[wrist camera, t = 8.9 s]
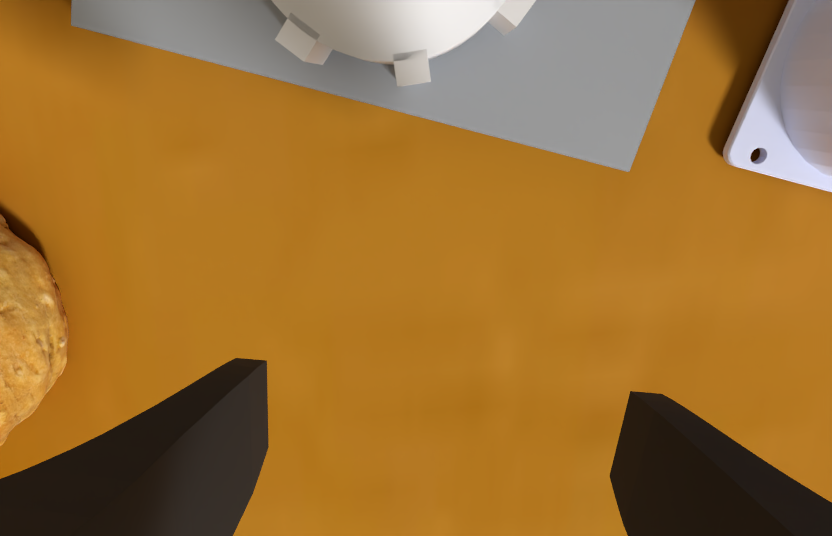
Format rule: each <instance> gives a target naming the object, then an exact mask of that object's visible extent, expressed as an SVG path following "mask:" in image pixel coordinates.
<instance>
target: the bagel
mask: <svg viewBox="0 0 832 536" xmlns="http://www.w3.org/2000/svg"><path fill="white" fill-rule="evenodd" d="M68 337H69V330H68V321H67V317H66V314H65V312H64V309H63V306H62V302H61V296H60V292H59V290H58V287H57V286H56V285H55V280H54V279H53V277H52V276H51V274H50V272H49V267H48V265H47V263H46V261H45V260H44V258H43V257H42V256H41V254H40V253H39V252H38V251H37V250H36V249H35V248H33V247H32V246H31V245H29V244H27V243H26V242H24V241H23V240H22V239H20V238H18V237H17V236H16V235H15V234H14V233H12V232H11V231H10V229H9V228H8V224H6V220H5V218H4V217H3V216H2V215H1V214H0V446H1V445H2V444H3V443H4V442H5V440H6V438H7V436H8V434H9V433H10V431H11V430H12V429H13V428H14V426H16V425H17V424H18V423H20V422H21V421H23V420H25V419H26V418H27V417H29V416H30V415H31V414H32V413H33V412H34V411H35V410H36V408H37V407H38V405H39V404H40V402H41V400H42V399H43V397H44V396H45V394H46V393H47V392H48V391H49V390H50V388H51V387H52V386H53V384H54V383H55V381H56V380H57V378H58V377H59V376H60V375H61V374H62V372H63V369H64V367H65V365H66V363H67V343H68Z"/></svg>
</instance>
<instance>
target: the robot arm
mask: <svg viewBox="0 0 832 536" xmlns="http://www.w3.org/2000/svg"><path fill="white" fill-rule="evenodd" d="M757 148H759V150H760V156H759V158H758V159H757V160H756V161H754V162H751V159H750V157H751V153H752V152H753V151H754V150H755V149H757ZM723 157H724V160H725V161H726V162H727V163H728V164H730V165H732V166H735V167H739V168H743V169H747V170H750V171H754V172H758V173H762V174H765V175H769V176H773V177H777V178H780V179H784V180H788V181H792V182H795V183H799V184H803V185H807V186H810V187H814V188H818V189H822V190H825V191H829V192H832V0H789V1H788V4H787V6H786V8H785V10H784V13H783V15H782V17H781V19H780V22H779V24H778V26H777V29H776V31H775V33H774V35H773V38H772V40H771V42H770V44H769V47H768V49H767V51H766V53H765V56H764V58H763V60H762V63H761V65H760V67H759V69H758V72H757V74H756V76H755V78H754V81H753V83H752V85H751V87H750V90H749V92H748V94H747V97H746V99H745V101H744V103H743V106H742V108H741V110H740V112H739V115H738V117H737V119H736V122H735V124H734V126H733V128H732V131H731V133H730V135H729V137H728V140H727V142H726V144H725V146H724V150H723ZM267 449H268V406H267V361H265V360H253V359H241V358H235V359H233V360H231V361H229V362H227V363H226V364H224V365H222V366H220V367H219V368H217V369H215V370H214V371H212V372H210V373H209V374H207V375H205V376H204V377H202V378H200V379H199V380H197V381H196V382H194V383H192V384H191V385H189V386H187V387H186V388H184V389H182V390H181V391H179V392H177V393H176V394H174V395H172V396H170V397H169V398H167V399H165V400H164V401H162V402H160V403H159V404H157V405H155V406H154V407H152V408H150V409H148V410H146V411H144V412H142V413H141V414H139V415H137V416H135V417H133V418H131V419H130V420H128V421H126V422H124V423H122V424H120V425H118V426H117V427H115V428H113V429H111V430H109V431H107V432H106V433H104V434H102V435H100V436H98V437H96V438H94V439H92V440H90V441H88V442H86V443H83V444H81V445H79V446H77V447H75V448H73V449H71V450H69V451H66V452H64V453H62V454H60V455H57V456H55V457H53V458H51V459H48V460H46V461H44V462H42V463H39V464H37V465H35V466H32V467H30V468H28V469H25V470H23V471H20V472H18V473H15V474H12V475H10V476H7V477H4V478H2V479H0V536H233V534H234V532H235V530H236V528H237V526H238V523H239V521H240V519H241V517H242V515H243V513H244V511H245V509H246V507H247V505H248V502H249V500H250V498H251V496H252V494H253V491H254V488H255V485H256V483H257V480H258V477H259V474H260V471H261V468H262V465H263V462H264V459H265V456H266V452H267ZM610 479H611V483H612V486H613V490H614V494H615V498H616V501H617V505H618V508H619V511H620V515H621V518H622V521H623V525H624V527H625V530H626V532H627V534H628V536H832V503H831V502H830V501H828V500H826V499H825V498H823V497H821V496H820V495H818V494H816V493H815V492H813V491H811V490H810V489H808V488H807V487H805V486H803V485H802V484H800V483H798V482H797V481H795V480H794V479H792V478H790V477H789V476H787V475H786V474H784V473H782V472H781V471H779V470H778V469H776V468H775V467H773V466H772V465H770V464H768V463H767V462H765V461H764V460H762V459H761V458H759V457H758V456H756V455H755V454H753V453H752V452H750V451H749V450H747V449H746V448H744V447H743V446H741V445H740V444H738V443H737V442H735V441H734V440H732V439H731V438H729V437H728V436H727V435H725V434H724V433H722V432H721V431H719V430H718V429H716V428H715V427H713V426H712V425H710V424H709V423H707V422H706V421H704V420H703V419H701V418H700V417H698V416H697V415H695V414H694V413H692V412H691V411H689V410H688V409H686V408H685V407H683V406H682V405H680V404H678V403H677V402H675V401H673V400H672V399H670V398H668V397H666V396H664V395H663V394H656V393H644V392H632V391H630V395H629V399H628V403H627V408H626V412H625V416H624V420H623V424H622V428H621V432H620V436H619V440H618V444H617V448H616V452H615V456H614V460H613V464H612V468H611V473H610Z"/></svg>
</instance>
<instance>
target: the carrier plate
mask: <svg viewBox="0 0 832 536" xmlns="http://www.w3.org/2000/svg"><path fill="white" fill-rule="evenodd" d="M694 3H695V0H72V6H71V25H72V26H76V27H79V28H83V29H87V30H91V31H95V32H98V33H102V34H106V35H110V36H114V37H117V38H121V39H125V40H129V41H133V42H136V43H140V44H144V45H148V46H152V47H155V48H159V49H163V50H167V51H171V52H174V53H178V54H182V55H186V56H190V57H193V58H197V59H201V60H205V61H209V62H212V63H216V64H220V65H224V66H228V67H231V68H235V69H239V70H243V71H247V72H250V73H254V74H258V75H262V76H266V77H270V78H273V79H277V80H281V81H285V82H289V83H292V84H296V85H300V86H304V87H308V88H311V89H315V90H319V91H323V92H327V93H330V94H334V95H338V96H342V97H346V98H349V99H353V100H357V101H361V102H365V103H368V104H372V105H376V106H380V107H384V108H387V109H391V110H395V111H399V112H403V113H406V114H410V115H414V116H418V117H422V118H425V119H429V120H433V121H437V122H441V123H444V124H448V125H452V126H456V127H460V128H463V129H467V130H471V131H475V132H479V133H482V134H486V135H490V136H494V137H498V138H501V139H505V140H509V141H513V142H517V143H520V144H524V145H528V146H532V147H536V148H539V149H543V150H547V151H551V152H555V153H558V154H562V155H566V156H570V157H574V158H578V159H581V160H585V161H589V162H593V163H597V164H600V165H604V166H608V167H612V168H616V169H619V170H623V171H627V172H629V171H630V168H631V166H632V163H633V160H634V158H635V155H636V153H637V150H638V148H639V145H640V142H641V140H642V137H643V135H644V132H645V129H646V127H647V124H648V122H649V119H650V117H651V114H652V111H653V109H654V106H655V104H656V101H657V98H658V96H659V93H660V91H661V88H662V85H663V83H664V80H665V78H666V75H667V73H668V70H669V67H670V65H671V62H672V60H673V57H674V54H675V52H676V49H677V47H678V44H679V42H680V39H681V36H682V34H683V31H684V29H685V26H686V23H687V21H688V18H689V16H690V13H691V11H692V8H693V5H694Z"/></svg>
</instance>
